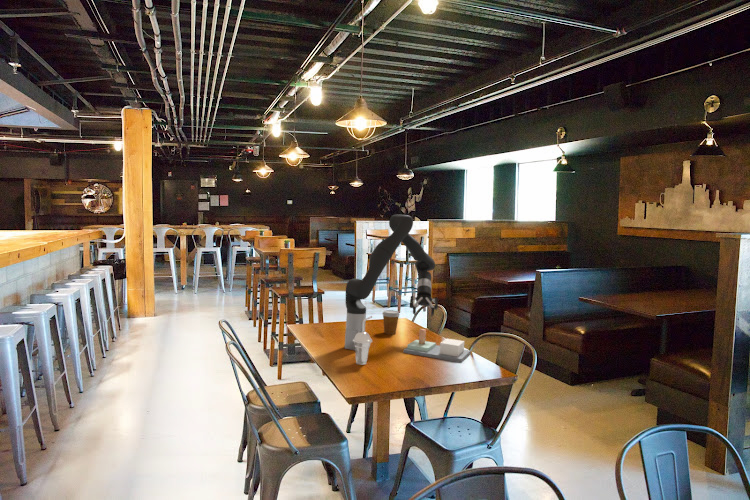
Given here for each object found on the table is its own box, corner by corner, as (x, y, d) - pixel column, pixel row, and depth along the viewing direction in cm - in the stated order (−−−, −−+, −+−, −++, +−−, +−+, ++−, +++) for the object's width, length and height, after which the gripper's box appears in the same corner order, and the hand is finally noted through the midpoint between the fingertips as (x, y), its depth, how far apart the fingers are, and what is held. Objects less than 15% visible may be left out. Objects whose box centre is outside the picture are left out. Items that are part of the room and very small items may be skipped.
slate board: (461, 362, 226) (461, 359, 225) (403, 352, 237) (403, 349, 237) (470, 353, 242) (470, 350, 242) (416, 344, 253) (416, 341, 253)
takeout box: (457, 356, 230) (458, 345, 229) (439, 353, 233) (440, 342, 233) (463, 351, 240) (464, 341, 239) (445, 348, 243) (446, 338, 243)
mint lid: (427, 351, 235) (429, 333, 234) (407, 348, 239) (408, 330, 239) (435, 346, 246) (436, 328, 246) (415, 343, 250) (416, 325, 250)
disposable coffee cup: (389, 330, 283) (390, 309, 282) (402, 333, 276) (403, 312, 276) (377, 332, 276) (378, 311, 276) (390, 335, 270) (391, 314, 269)
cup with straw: (348, 361, 218) (351, 315, 217) (367, 359, 222) (370, 315, 220) (355, 366, 210) (358, 319, 209) (375, 365, 214) (377, 319, 212)
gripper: (411, 283, 260) (409, 309, 249) (438, 285, 259) (438, 311, 248) (410, 292, 266) (409, 318, 255) (437, 294, 265) (437, 319, 254)
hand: (423, 314), depth 252 cm, fingers open, 8 cm apart
